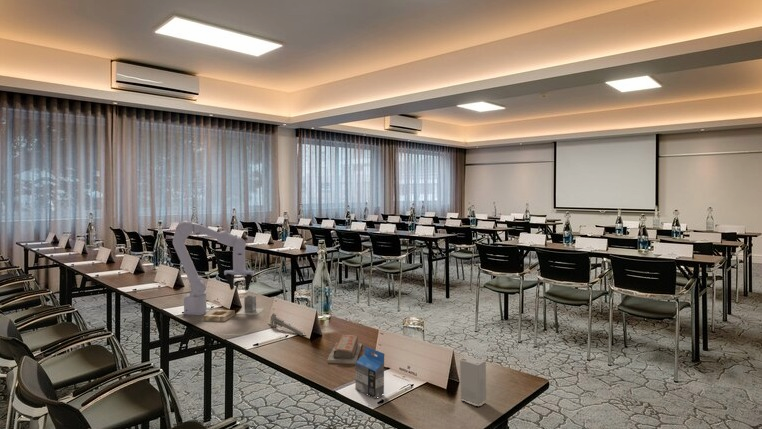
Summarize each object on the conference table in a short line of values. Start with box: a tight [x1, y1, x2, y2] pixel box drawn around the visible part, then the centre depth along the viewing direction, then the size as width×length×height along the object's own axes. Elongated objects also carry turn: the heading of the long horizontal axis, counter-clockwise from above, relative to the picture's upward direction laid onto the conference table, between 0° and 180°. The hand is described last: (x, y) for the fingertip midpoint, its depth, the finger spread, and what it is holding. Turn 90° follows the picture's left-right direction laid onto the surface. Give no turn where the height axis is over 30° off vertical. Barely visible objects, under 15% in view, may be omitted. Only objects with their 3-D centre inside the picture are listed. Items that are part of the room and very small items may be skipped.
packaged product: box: [327, 334, 363, 365], centre depth 159 cm, size 18×5×10 cm
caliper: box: [269, 313, 304, 336], centre depth 183 cm, size 20×1×6 cm, turn 55°
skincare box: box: [459, 355, 487, 405], centre depth 123 cm, size 6×4×12 cm
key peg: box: [243, 295, 257, 313], centre depth 209 cm, size 4×4×7 cm
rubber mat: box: [235, 307, 265, 316], centre depth 210 cm, size 10×10×1 cm
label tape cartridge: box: [354, 345, 385, 399], centre depth 129 cm, size 9×4×12 cm, turn 45°
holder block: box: [202, 309, 236, 322], centre depth 200 cm, size 10×10×2 cm
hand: (239, 289), depth 216 cm, fingers open, 7 cm apart
